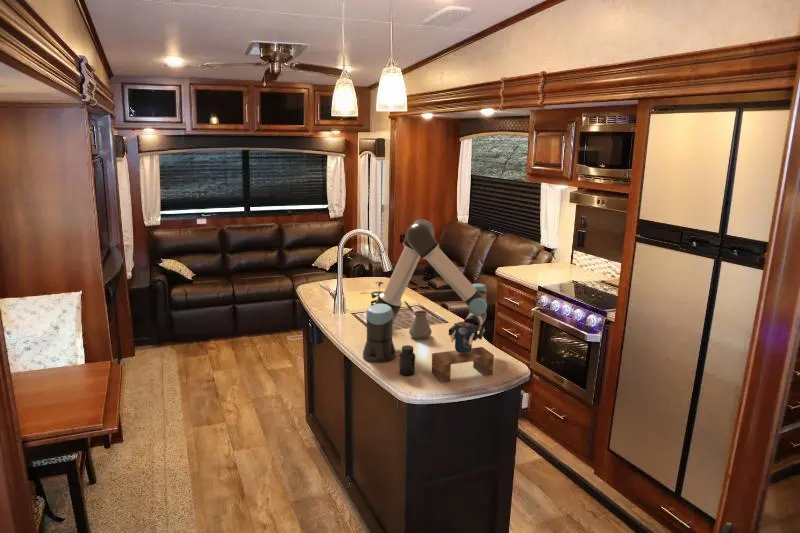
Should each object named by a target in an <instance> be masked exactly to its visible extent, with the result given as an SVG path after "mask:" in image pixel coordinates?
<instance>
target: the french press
mask: <svg viewBox="0 0 800 533" xmlns="http://www.w3.org/2000/svg"><path fill="white" fill-rule="evenodd" d="M375 284H376V285H378V291H377V290H376V291H372V292H371V293H370V295H371V299H373V300H372V301H370V306H371V305H374V304H375V303H376V301H377V299H375V298H376V297H377V298H378V297H379V294H380V293H383V292H384V291H381V288H380V286H381V285H382V284H384V282H382V281H376V282H375ZM374 299H375V300H374Z"/></svg>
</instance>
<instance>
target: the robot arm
mask: <svg viewBox="0 0 800 533" xmlns="http://www.w3.org/2000/svg"><path fill="white" fill-rule="evenodd" d="M435 234H436V231H435V228H434V226H433V224H432V222H430V221H428V220H426V219H417V220H415V221H413V222H412V223H411V225H410V226H409V228H407V231H406V235H405V237H404V240H403V242H402V245H403V250H402V252H401V254H400V256H399V258H398V261H397V263H396V264H395V267H394V269H393V272H392V274H391V276H390V278H389V280H388V283H387V285H386V287H385V289H384V291H382V292H383V293H380V294H379V296H377V299H376V300H377V301H376V303H373V304H374V305H371V304H370V306H369V307H367V309H366V315H365V316H366V341H365V345H364V347H363V350H362V358H363V359H364V360H365V361H368V362H371V363H388V362H391V361H393V360H395V359H396V358H397V357H396V356H397V351H396V348H395V345H394V341H393V325H394V323H395V320H396V319H397V317H398V314H399V311H400V310H401V307H402V305H403V302H402V297H403V295H404V294H405V291H406V289H407V287H408V285H409V283H410V281H411V278H412V276H413V274H414V272H415V270H416V268H417V265H418V263H419V262H420V261H419V260H420V259H422V260H426V261H427V262H428V263H429V265H431V266H432V268H434V270H435V271H436V272H437V273H438V274H439V275H440V277H441V278H443V280H444V281H445V282H446V284H448V285H449V286H450V288H452V290H453V291H454V292H455V293H456V294H457V295H458V297H460V299H461V300H462V301H463V302H464V304H466V305H467V307H468V315H467V316H466V318H464V320H463V322H469V323H471V326H472V335H471V336H470V338H469V345H471V344H473V341H474V342H476V340H483V335H484V334H485V333H486V331H485V330H486V326H482V325H483V324H484V323H485V321H486V319H487V308H488V303H487V286H486V284H483V283H472V282H470V281H469V280H468V278H467V277H466V276H465V275H464V274H463V273H462V271H461V270H459V269H458V267H457V266H456V265H455V264H454V263H453V262H452V261H451V259H450V258H449V257H448V256H447V255H446V254H445V253H444V252H443V250H442V249H441V248H440V244H439V242H437V240H436V239H435ZM457 323H458V322H454V325H453V326H451V327H449V329H448V336H450V342H451V343H453V342H455V333H456V326H457ZM478 332H479V333H478Z"/></svg>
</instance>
